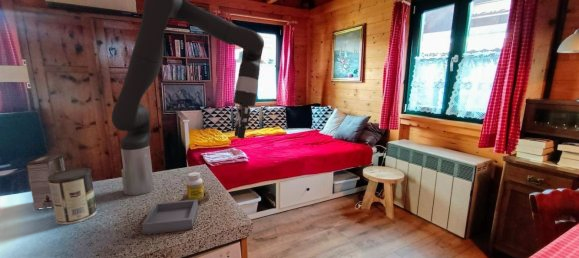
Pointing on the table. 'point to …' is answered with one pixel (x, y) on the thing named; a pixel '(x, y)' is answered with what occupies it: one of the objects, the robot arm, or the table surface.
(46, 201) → the coffee box
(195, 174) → the supplement bottle
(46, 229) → the table surface
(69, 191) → the coffee can
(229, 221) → the table surface
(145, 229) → the tray
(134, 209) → the table surface
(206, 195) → the holder ring
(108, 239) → the table surface
